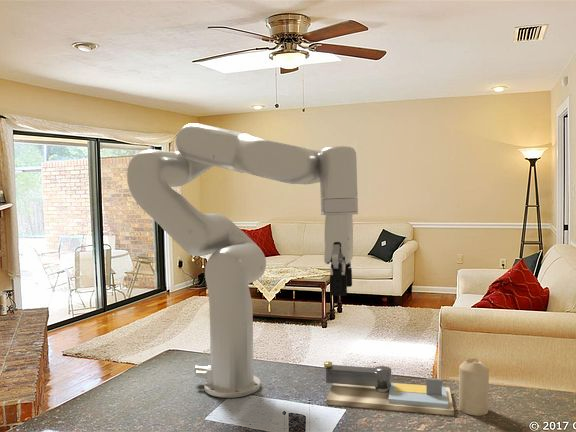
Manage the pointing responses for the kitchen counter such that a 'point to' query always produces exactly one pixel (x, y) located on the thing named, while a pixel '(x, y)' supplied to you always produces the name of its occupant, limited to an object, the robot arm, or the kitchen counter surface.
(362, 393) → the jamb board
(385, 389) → the pivot post
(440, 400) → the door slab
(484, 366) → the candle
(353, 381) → the latch bar
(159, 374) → the kitchen counter surface
